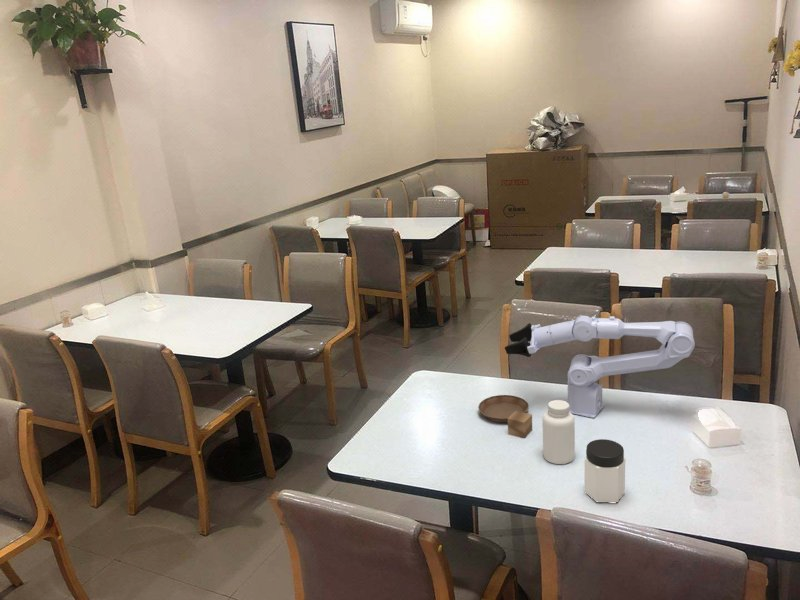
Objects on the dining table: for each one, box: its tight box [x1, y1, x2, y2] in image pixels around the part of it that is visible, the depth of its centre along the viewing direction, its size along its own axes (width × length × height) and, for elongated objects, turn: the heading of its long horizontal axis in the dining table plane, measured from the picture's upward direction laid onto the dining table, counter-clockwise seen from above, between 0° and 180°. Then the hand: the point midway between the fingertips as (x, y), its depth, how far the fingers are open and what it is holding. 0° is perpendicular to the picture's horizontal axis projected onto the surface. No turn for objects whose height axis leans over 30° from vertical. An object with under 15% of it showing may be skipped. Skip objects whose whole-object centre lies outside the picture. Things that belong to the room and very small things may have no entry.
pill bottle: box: [541, 399, 576, 465], centre depth 161 cm, size 8×8×15 cm
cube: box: [507, 411, 533, 439], centre depth 176 cm, size 5×5×5 cm
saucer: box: [478, 394, 530, 423], centre depth 187 cm, size 15×15×3 cm
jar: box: [583, 438, 626, 503], centre depth 145 cm, size 9×8×12 cm
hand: (508, 344), depth 188 cm, fingers open, 7 cm apart
